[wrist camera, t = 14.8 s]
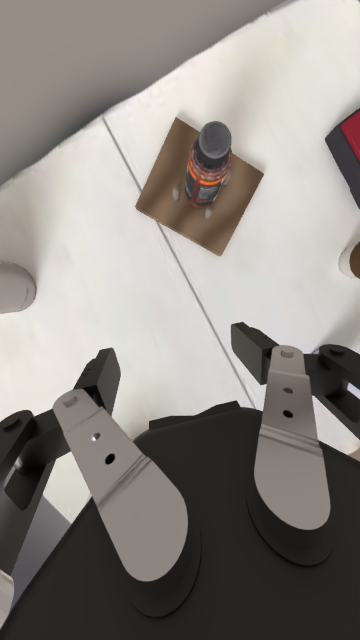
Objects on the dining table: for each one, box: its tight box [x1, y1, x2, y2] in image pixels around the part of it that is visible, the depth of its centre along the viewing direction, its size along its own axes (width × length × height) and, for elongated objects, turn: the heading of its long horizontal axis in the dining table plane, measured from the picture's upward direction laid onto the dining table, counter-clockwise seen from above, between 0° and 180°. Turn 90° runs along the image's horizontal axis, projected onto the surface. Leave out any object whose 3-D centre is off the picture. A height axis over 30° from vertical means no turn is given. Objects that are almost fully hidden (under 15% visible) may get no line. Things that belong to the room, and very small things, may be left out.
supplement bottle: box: [185, 121, 232, 208], centre depth 27 cm, size 6×6×11 cm
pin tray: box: [135, 117, 264, 256], centre depth 32 cm, size 18×16×4 cm
